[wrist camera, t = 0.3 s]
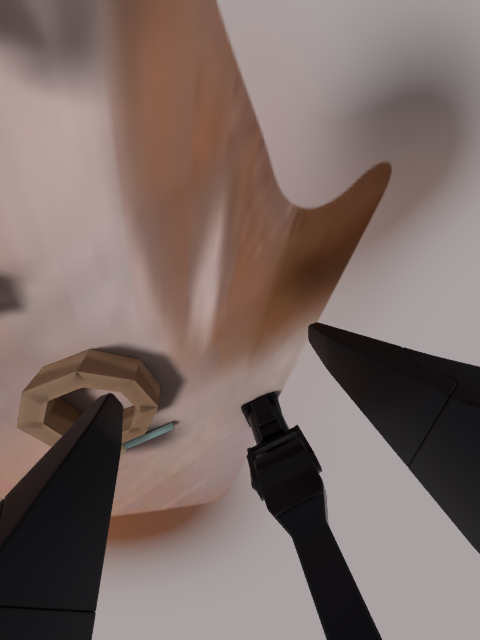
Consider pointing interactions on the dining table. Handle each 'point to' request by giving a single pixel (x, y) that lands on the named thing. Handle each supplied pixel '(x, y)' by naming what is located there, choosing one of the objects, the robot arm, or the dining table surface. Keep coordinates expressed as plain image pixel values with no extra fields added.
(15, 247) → the dining table surface
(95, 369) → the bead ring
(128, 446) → the teal thin rod
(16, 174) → the dining table surface
